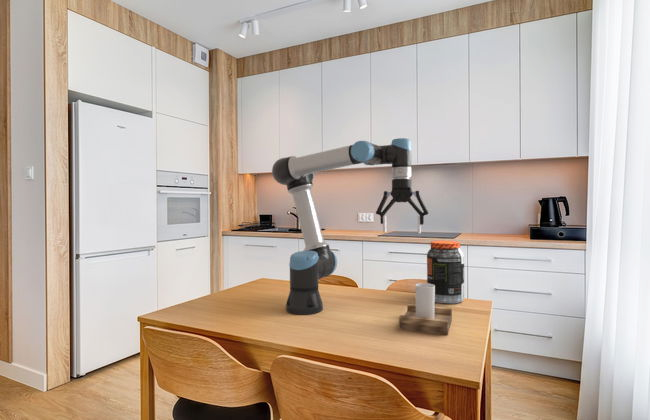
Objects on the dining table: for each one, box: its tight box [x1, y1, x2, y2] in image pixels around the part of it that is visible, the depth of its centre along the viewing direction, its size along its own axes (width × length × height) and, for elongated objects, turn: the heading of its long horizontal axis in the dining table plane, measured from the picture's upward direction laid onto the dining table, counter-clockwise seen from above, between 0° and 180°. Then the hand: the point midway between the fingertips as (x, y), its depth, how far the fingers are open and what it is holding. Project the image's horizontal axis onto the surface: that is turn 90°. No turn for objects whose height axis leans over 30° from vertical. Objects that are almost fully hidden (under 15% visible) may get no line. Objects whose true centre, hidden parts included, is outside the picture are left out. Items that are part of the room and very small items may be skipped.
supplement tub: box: [426, 240, 465, 304], centre depth 168 cm, size 16×16×26 cm
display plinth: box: [398, 303, 453, 336], centre depth 136 cm, size 16×17×4 cm
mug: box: [414, 282, 436, 319], centre depth 136 cm, size 10×7×12 cm, turn 141°
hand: (401, 232), depth 149 cm, fingers open, 13 cm apart
